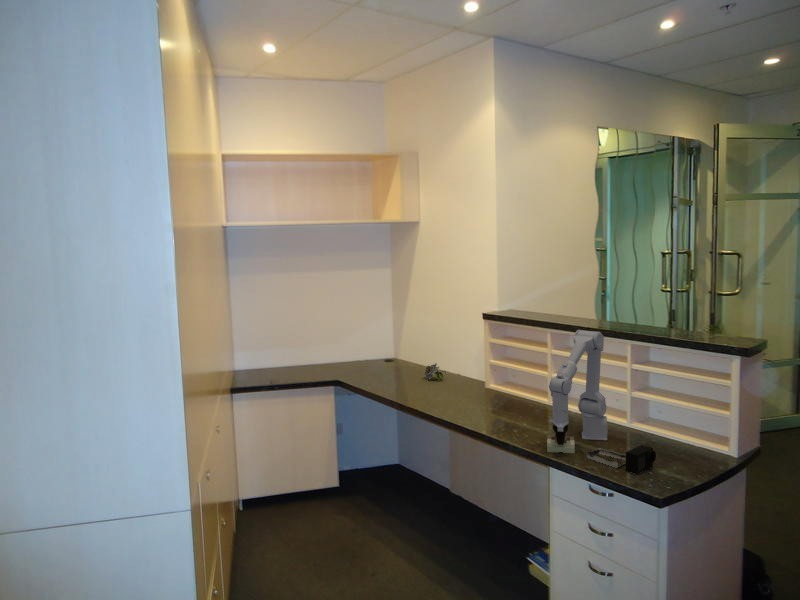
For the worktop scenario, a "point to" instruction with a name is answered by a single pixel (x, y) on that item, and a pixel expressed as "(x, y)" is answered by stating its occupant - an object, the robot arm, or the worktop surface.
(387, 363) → the worktop surface
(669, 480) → the worktop surface
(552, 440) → the board
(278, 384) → the worktop surface
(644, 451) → the digital camera
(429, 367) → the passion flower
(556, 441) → the block
